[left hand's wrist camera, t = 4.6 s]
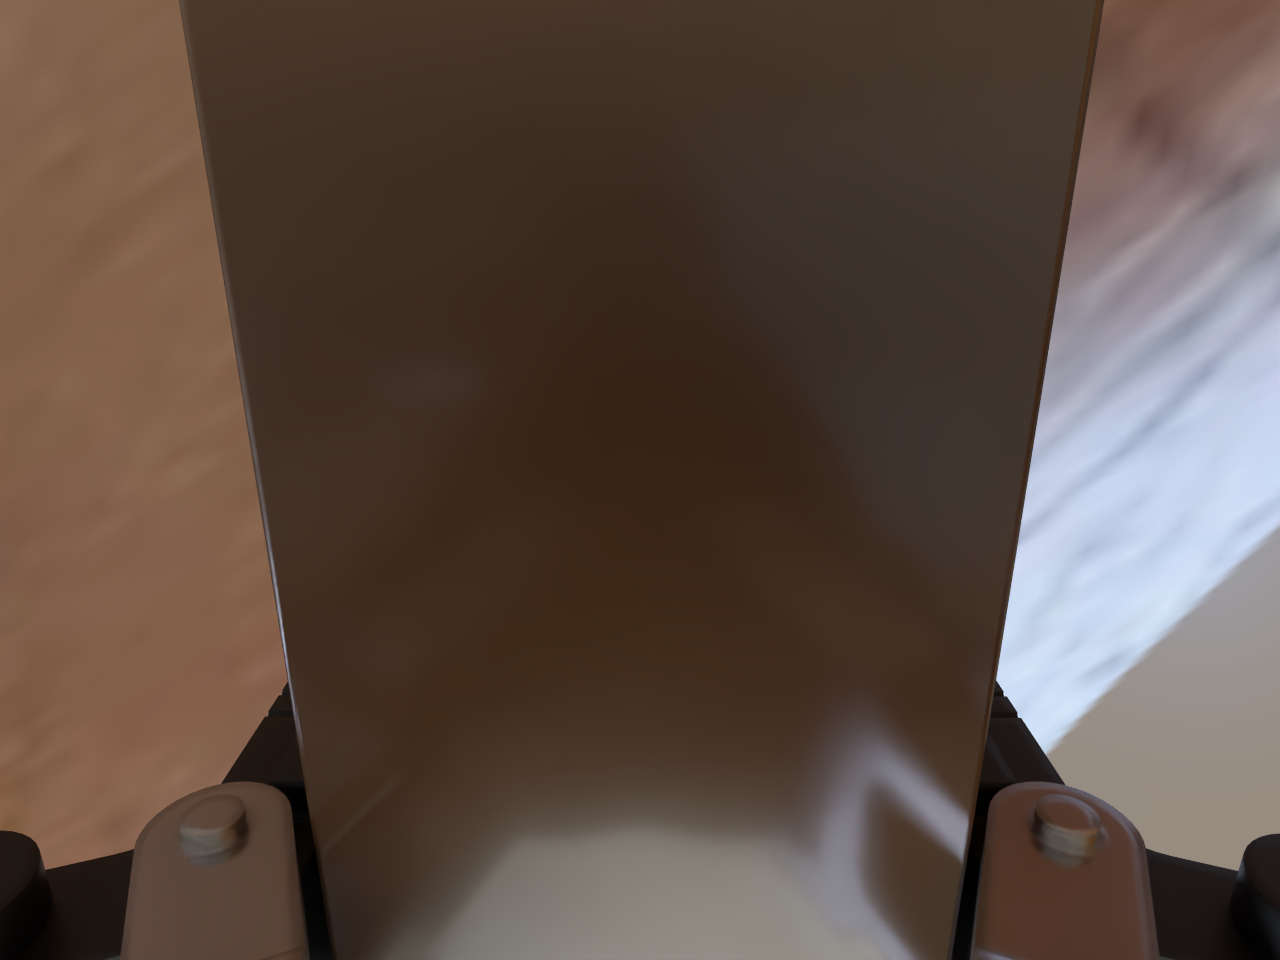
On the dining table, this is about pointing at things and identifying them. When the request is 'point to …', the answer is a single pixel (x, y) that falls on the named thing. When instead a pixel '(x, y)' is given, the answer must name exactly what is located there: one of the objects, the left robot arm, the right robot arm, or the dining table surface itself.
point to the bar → (641, 448)
